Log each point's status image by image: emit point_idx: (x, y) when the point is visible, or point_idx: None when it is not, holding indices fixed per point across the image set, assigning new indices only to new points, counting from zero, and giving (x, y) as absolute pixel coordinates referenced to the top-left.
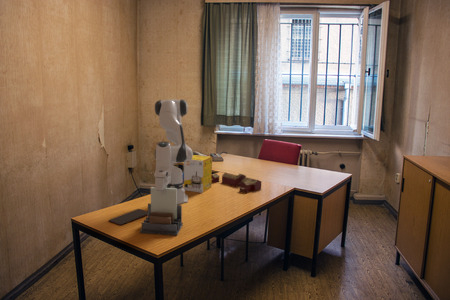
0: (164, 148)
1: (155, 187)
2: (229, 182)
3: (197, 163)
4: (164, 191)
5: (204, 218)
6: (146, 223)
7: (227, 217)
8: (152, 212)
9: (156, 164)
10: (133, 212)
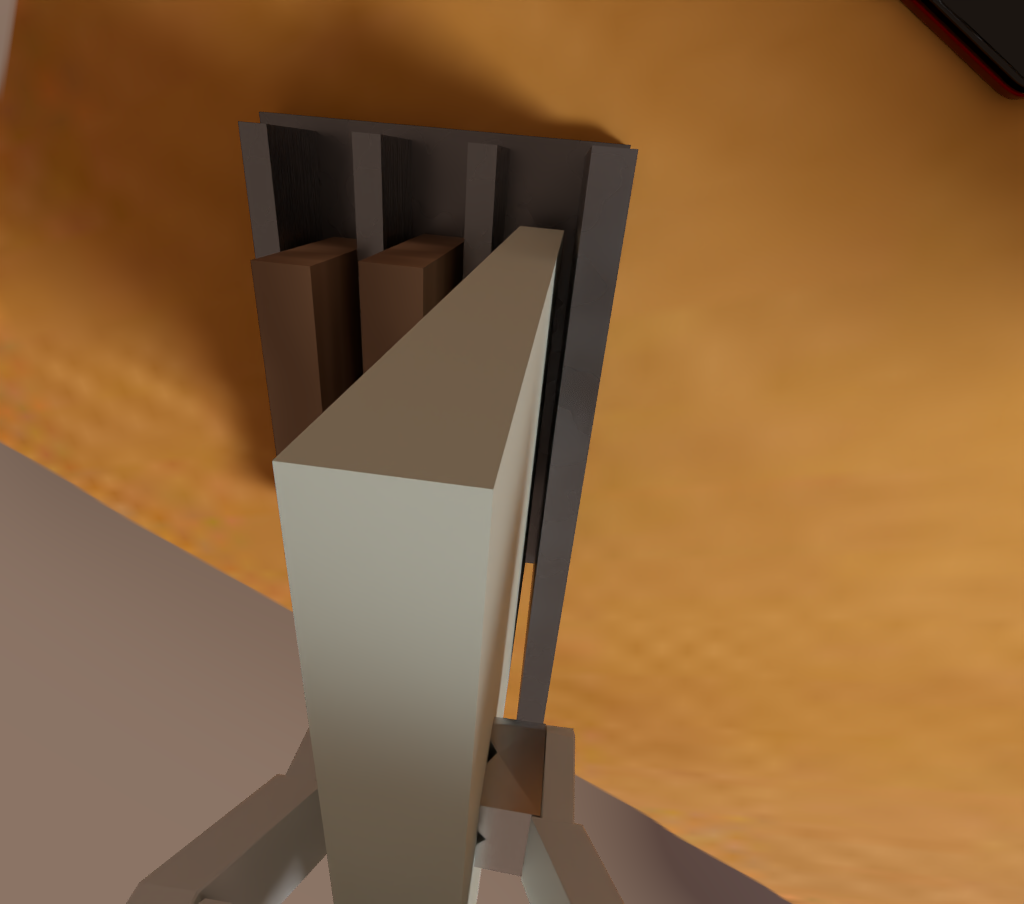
0: None
1: (422, 718)
2: None
3: None
4: (305, 859)
5: (727, 706)
6: (251, 211)
7: (731, 832)
8: (393, 294)
9: None
10: None
